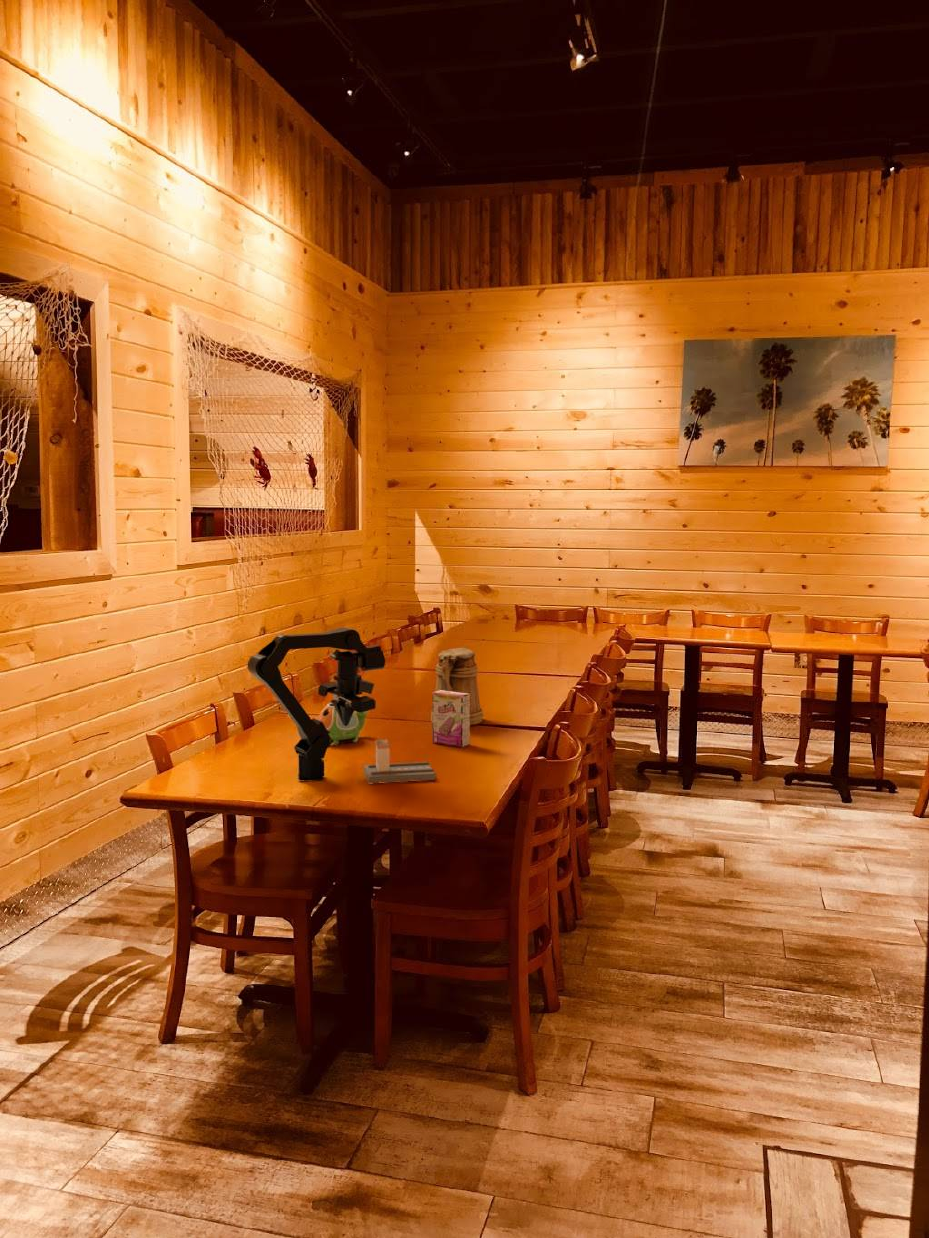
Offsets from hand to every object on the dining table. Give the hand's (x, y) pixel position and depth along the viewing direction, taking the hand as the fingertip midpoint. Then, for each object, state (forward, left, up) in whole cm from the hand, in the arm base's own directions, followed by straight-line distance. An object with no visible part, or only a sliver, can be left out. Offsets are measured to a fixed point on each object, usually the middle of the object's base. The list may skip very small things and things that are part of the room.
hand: (345, 725), depth 275 cm
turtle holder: (+2, +35, -13) cm, 37 cm away
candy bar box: (+35, +23, -13) cm, 44 cm away
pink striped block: (+9, -10, -10) cm, 17 cm away
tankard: (+42, +52, -13) cm, 68 cm away
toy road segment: (+14, -10, -13) cm, 21 cm away
